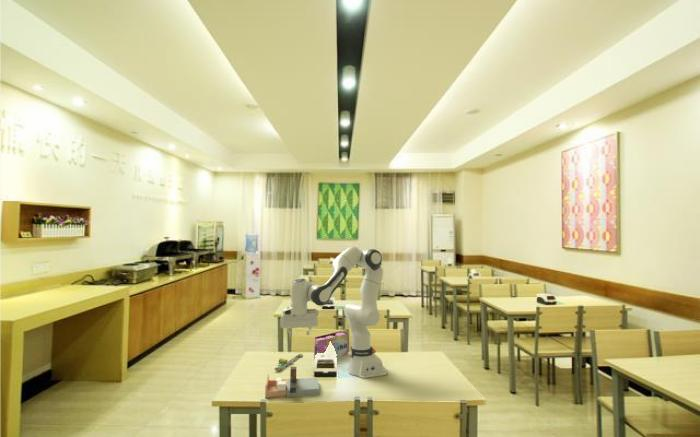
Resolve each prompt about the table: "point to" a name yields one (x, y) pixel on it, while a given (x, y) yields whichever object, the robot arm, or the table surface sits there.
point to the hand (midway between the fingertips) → (299, 335)
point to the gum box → (337, 340)
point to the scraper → (293, 380)
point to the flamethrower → (285, 363)
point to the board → (304, 387)
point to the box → (273, 389)
